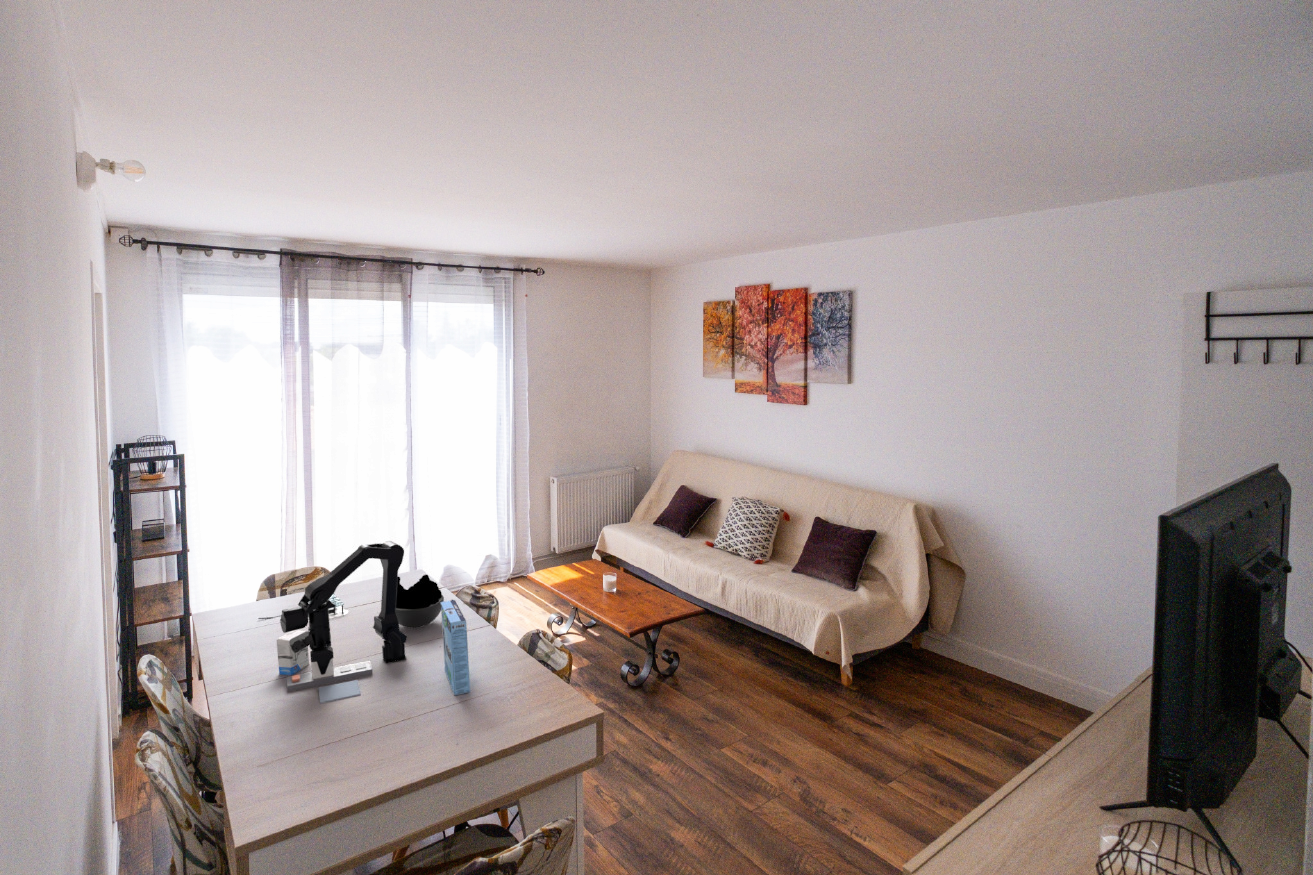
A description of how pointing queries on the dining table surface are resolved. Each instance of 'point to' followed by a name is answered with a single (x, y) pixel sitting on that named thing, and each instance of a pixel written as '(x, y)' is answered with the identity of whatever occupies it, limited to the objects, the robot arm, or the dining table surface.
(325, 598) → the robot arm
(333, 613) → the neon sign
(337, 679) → the power strip
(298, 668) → the ink box
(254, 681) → the dining table surface
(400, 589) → the coal bowl
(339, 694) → the mat
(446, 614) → the light blue carton
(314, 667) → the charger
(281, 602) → the dining table surface
